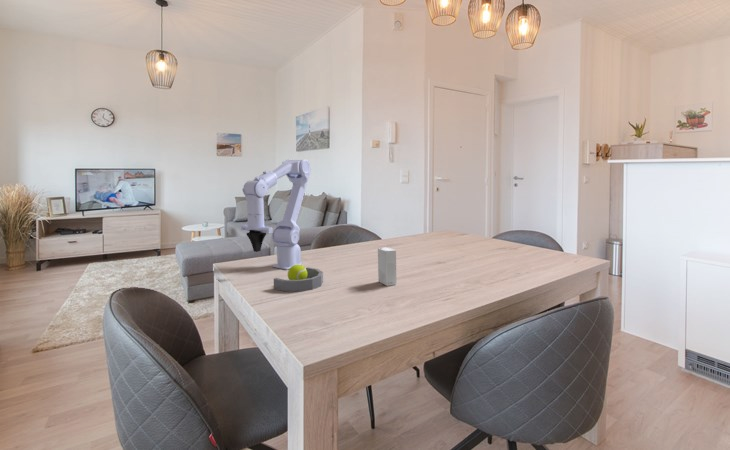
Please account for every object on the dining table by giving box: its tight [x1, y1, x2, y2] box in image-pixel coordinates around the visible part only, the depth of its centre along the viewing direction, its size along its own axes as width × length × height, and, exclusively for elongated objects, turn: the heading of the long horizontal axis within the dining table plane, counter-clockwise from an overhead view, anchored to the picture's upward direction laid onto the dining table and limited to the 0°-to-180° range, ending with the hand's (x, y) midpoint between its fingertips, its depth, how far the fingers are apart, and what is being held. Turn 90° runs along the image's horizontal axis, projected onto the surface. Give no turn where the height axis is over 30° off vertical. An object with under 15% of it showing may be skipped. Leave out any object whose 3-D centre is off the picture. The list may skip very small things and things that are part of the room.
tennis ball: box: [287, 264, 308, 280], centre depth 128 cm, size 7×7×7 cm
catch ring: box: [273, 266, 324, 293], centre depth 127 cm, size 17×11×4 cm, turn 148°
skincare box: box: [377, 246, 397, 287], centre depth 129 cm, size 6×4×12 cm
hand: (257, 251), depth 136 cm, fingers closed
